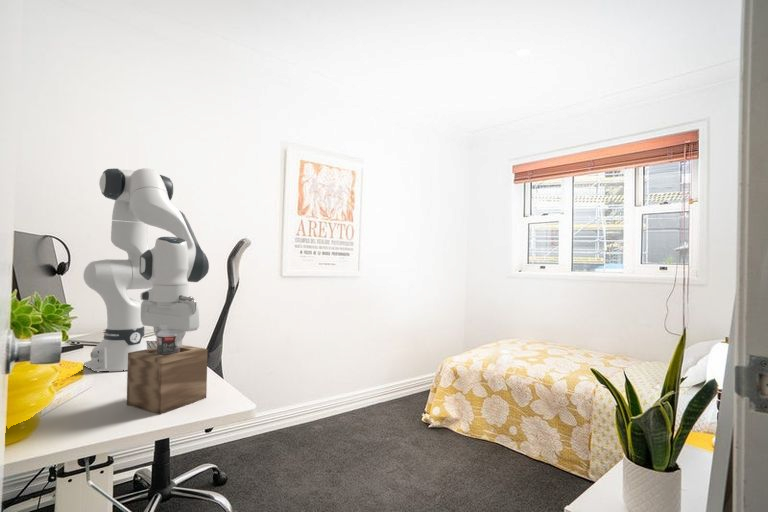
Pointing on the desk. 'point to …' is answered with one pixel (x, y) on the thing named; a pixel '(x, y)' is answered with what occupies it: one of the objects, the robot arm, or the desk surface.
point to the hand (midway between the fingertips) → (168, 344)
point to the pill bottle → (166, 341)
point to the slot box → (166, 379)
